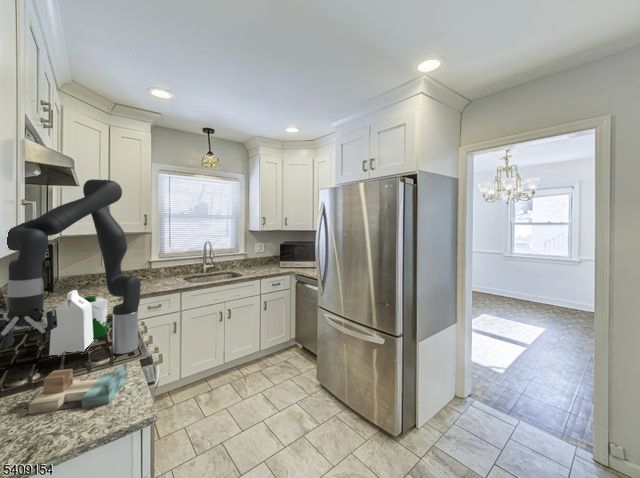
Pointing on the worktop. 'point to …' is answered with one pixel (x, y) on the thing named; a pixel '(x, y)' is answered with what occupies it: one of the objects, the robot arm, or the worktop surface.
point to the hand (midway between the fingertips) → (26, 344)
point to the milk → (72, 326)
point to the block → (58, 381)
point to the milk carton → (98, 315)
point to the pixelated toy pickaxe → (81, 393)
